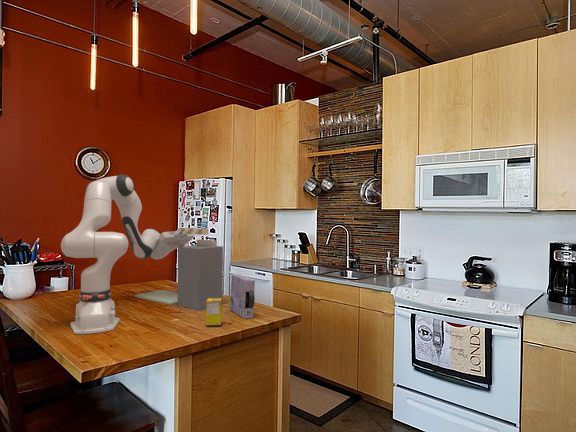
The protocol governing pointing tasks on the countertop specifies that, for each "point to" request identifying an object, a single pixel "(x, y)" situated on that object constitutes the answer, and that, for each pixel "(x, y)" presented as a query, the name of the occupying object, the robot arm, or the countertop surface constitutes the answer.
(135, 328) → the countertop surface
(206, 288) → the charcoal stand
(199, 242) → the pale wood bar
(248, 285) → the cake pan box
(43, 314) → the countertop surface
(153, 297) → the sage mat
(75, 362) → the countertop surface
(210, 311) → the supplement box
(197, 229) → the long maple bar
